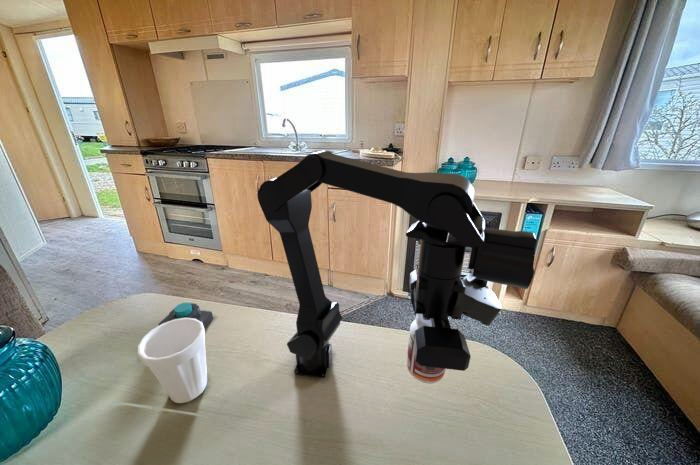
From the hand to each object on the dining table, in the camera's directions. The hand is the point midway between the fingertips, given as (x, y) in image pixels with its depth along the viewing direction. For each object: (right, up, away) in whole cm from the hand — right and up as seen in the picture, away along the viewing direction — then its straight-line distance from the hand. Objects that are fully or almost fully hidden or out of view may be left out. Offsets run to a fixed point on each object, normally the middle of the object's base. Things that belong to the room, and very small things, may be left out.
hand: (427, 352), depth 44 cm
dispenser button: (-53, 0, +23) cm, 58 cm away
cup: (-43, -11, +9) cm, 45 cm away
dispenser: (-53, -4, +24) cm, 58 cm away
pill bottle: (0, -3, +2) cm, 4 cm away
